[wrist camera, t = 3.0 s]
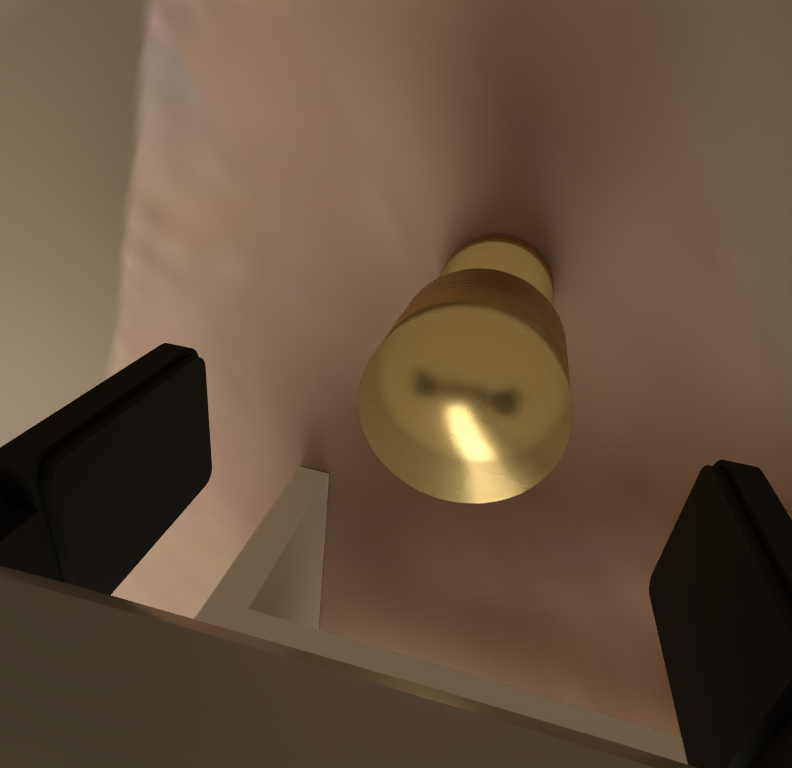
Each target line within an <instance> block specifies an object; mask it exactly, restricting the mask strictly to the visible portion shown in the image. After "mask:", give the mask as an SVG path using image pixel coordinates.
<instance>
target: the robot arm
mask: <svg viewBox="0 0 792 768" xmlns="http://www.w3.org/2000/svg"><path fill="white" fill-rule="evenodd" d="M211 471H212V461H211V446H210V430H209V415H208V399H207V384H206V369H205V362H204V360H203V359H202V358H200V357H198V354H197V352H196V351H195V350H194V349H192V348H187V347H183V346H178V345H173V344H168V343H164V344H162V345H160V346H158V347H157V348H155V349H154V350H152V351H150V352H149V353H147V354H146V355H144V356H143V357H141V358H139V359H138V360H136V361H135V362H133V363H132V364H130V365H129V366H127V367H125V368H124V369H122V370H121V371H119V372H118V373H116V374H114V375H113V376H111V377H110V378H108V379H107V380H105V381H104V382H102V383H100V384H99V385H97V386H96V387H94V388H93V389H91V390H90V391H88V392H87V393H85V394H83V395H82V396H80V397H79V398H77V399H76V400H74V401H72V402H71V403H69V404H68V405H66V406H65V407H63V408H62V409H60V410H59V411H57V412H55V413H54V414H52V415H50V416H49V417H48V418H46V419H44V420H43V421H41V422H40V423H38V424H37V425H35V426H33V427H32V428H30V429H29V430H27V431H26V432H24V433H22V434H21V435H20V436H18V437H16V438H15V439H13V440H12V441H10V442H8V443H7V444H5V445H4V446H2V447H1V448H0V768H792V520H791V518H790V516H789V515H788V513H787V512H786V510H785V508H784V507H783V505H782V503H781V502H780V500H779V498H778V497H777V495H776V493H775V492H774V490H773V489H772V487H771V485H770V484H769V482H768V480H767V479H766V477H765V475H764V474H763V472H762V471H761V470H760V469H759V468H758V467H755V466H750V465H745V464H740V463H735V462H731V461H726V460H719V461H717V462H716V463H715V464H714V466H709V465H706V466H704V467H703V468H702V470H701V471H700V473H699V475H698V477H697V480H696V482H695V484H694V486H693V488H692V490H691V492H690V495H689V497H688V499H687V501H686V503H685V505H684V507H683V509H682V512H681V514H680V516H679V518H678V520H677V522H676V524H675V526H674V529H673V531H672V533H671V535H670V537H669V539H668V541H667V544H666V546H665V548H664V550H663V552H662V554H661V556H660V558H659V561H658V563H657V565H656V567H655V569H654V571H653V573H652V576H651V580H650V586H649V594H650V599H651V604H652V608H653V613H654V617H655V621H656V626H657V630H658V635H659V639H660V644H661V648H662V652H663V657H664V661H665V666H666V670H667V674H668V679H669V683H670V688H671V692H672V697H673V701H674V705H675V710H676V714H677V719H678V723H679V727H680V732H681V736H682V741H683V745H684V750H685V754H686V758H687V763H688V765H687V764H684V763H681V762H678V761H674V760H671V759H668V758H665V757H662V756H658V755H655V754H652V753H649V752H646V751H642V750H639V749H636V748H633V747H630V746H626V745H623V744H620V743H616V742H613V741H610V740H606V739H603V738H600V737H596V736H593V735H589V734H586V733H583V732H579V731H576V730H572V729H569V728H566V727H562V726H559V725H556V724H552V723H549V722H545V721H542V720H539V719H535V718H532V717H529V716H525V715H522V714H518V713H515V712H512V711H508V710H505V709H502V708H498V707H495V706H491V705H488V704H485V703H481V702H478V701H475V700H471V699H468V698H464V697H461V696H458V695H454V694H451V693H447V692H444V691H441V690H437V689H434V688H430V687H427V686H424V685H420V684H417V683H413V682H410V681H406V680H403V679H400V678H396V677H393V676H389V675H386V674H382V673H379V672H375V671H372V670H369V669H365V668H362V667H358V666H355V665H351V664H348V663H345V662H341V661H338V660H334V659H331V658H327V657H324V656H320V655H317V654H313V653H310V652H307V651H303V650H300V649H296V648H293V647H289V646H286V645H282V644H279V643H275V642H272V641H268V640H265V639H262V638H258V637H255V636H251V635H248V634H244V633H241V632H237V631H234V630H230V629H227V628H223V627H220V626H216V625H213V624H209V623H206V622H202V621H199V620H195V619H192V618H188V617H185V616H181V615H177V614H174V613H170V612H167V611H163V610H160V609H156V608H153V607H149V606H146V605H142V604H139V603H135V602H132V601H128V600H125V599H121V598H118V597H114V596H111V594H112V593H113V591H114V590H115V589H116V588H117V587H118V586H119V585H120V583H121V582H122V581H123V580H124V579H125V578H126V577H127V575H128V574H129V573H130V572H131V571H132V570H133V568H134V567H135V566H136V565H137V564H138V563H139V562H140V560H141V559H142V558H143V557H144V556H145V555H146V554H147V552H148V551H149V550H150V549H151V548H152V547H153V545H154V544H155V543H156V542H157V541H158V540H159V539H160V537H161V536H162V535H163V534H164V533H165V532H166V531H167V529H168V528H169V527H170V526H171V525H172V524H173V522H174V521H175V520H176V519H177V518H178V517H179V516H180V514H181V513H182V512H183V511H184V510H185V509H186V508H187V506H188V505H189V504H190V503H191V502H192V501H193V499H194V498H195V497H196V496H197V495H198V494H199V493H200V491H201V490H202V489H203V488H204V487H205V486H206V484H207V483H208V481H209V479H210V476H211Z"/></svg>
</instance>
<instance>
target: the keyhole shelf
mask: <svg viewBox="0 0 792 768" xmlns="http://www.w3.org/2000/svg"><path fill="white" fill-rule="evenodd" d="M328 487H329V473H325V472H321V471H317V470H313V469H309V468H305V467H301V466H300V467H299V469H298V470H297V472H296V473H295V475H294V476H293V477H292V479H291V480H290V482H289V483H288V485H287V486H286V488H285V489H284V490H283V492H282V493H281V495H280V496H279V498H278V499H277V500H276V502H275V503H274V505H273V506H272V508H271V509H270V511H269V512H268V513H267V515H266V516H265V518H264V519H263V521H262V522H261V524H260V525H259V526H258V528H257V529H256V531H255V532H254V534H253V535H252V536H251V538H250V539H249V541H248V542H247V544H246V545H245V547H244V548H243V549H242V551H241V552H240V554H239V555H238V557H237V558H236V560H235V561H234V562H233V564H232V565H231V567H230V568H229V570H228V571H227V572H226V574H225V575H224V577H223V578H222V580H221V581H220V583H219V584H218V585H217V587H216V588H215V590H214V591H213V593H212V594H211V596H210V597H209V598H208V600H207V601H206V603H205V604H204V606H203V607H202V609H201V610H200V611H199V613H198V614H197V616H196V617H195V620H199V621H202V622H206V623H209V624H213V625H216V626H220V627H223V628H227V629H230V630H234V631H237V632H241V633H244V634H248V635H251V636H255V637H258V638H262V639H265V640H268V641H272V642H275V643H279V644H282V645H286V646H289V647H293V648H296V649H300V650H303V651H307V652H310V653H313V654H317V655H320V656H324V657H327V658H331V659H334V660H338V661H341V662H345V663H348V664H351V665H355V666H358V667H362V668H365V669H369V670H372V671H375V672H379V673H382V674H386V675H389V676H393V677H396V678H400V679H403V680H406V681H410V682H413V683H417V684H420V685H424V686H427V687H430V688H434V689H437V690H441V691H444V692H447V693H451V694H454V695H458V696H461V697H464V698H468V699H471V700H475V701H478V702H481V703H485V704H488V705H491V706H495V707H498V708H502V709H505V710H508V711H512V712H515V713H518V714H522V715H525V716H529V717H532V718H535V719H539V720H542V721H545V722H549V723H552V724H556V725H559V726H562V727H566V728H569V729H572V730H576V731H579V732H583V733H586V734H589V735H593V736H596V737H600V738H603V739H606V740H610V741H613V742H616V743H620V744H623V745H626V746H630V747H633V748H636V749H639V750H642V751H646V752H649V753H652V754H655V755H658V756H662V757H665V758H668V759H671V760H674V761H678V762H681V763H684V764H687V765H688V763H687V758H686V754H685V750H684V745H683V741H682V737H679V736H676V735H672V734H669V733H666V732H662V731H659V730H656V729H652V728H649V727H645V726H642V725H639V724H635V723H632V722H629V721H625V720H622V719H618V718H615V717H612V716H608V715H605V714H602V713H598V712H595V711H591V710H588V709H585V708H581V707H578V706H575V705H571V704H568V703H564V702H561V701H558V700H554V699H551V698H547V697H544V696H541V695H537V694H534V693H531V692H527V691H524V690H520V689H517V688H514V687H510V686H507V685H504V684H500V683H497V682H493V681H490V680H487V679H483V678H480V677H477V676H473V675H470V674H466V673H463V672H460V671H456V670H453V669H450V668H446V667H443V666H439V665H436V664H433V663H429V662H426V661H423V660H419V659H416V658H412V657H409V656H406V655H402V654H399V653H396V652H392V651H389V650H385V649H382V648H379V647H375V646H372V645H369V644H365V643H362V642H358V641H355V640H352V639H348V638H345V637H342V636H338V635H335V634H331V633H328V632H325V631H321V630H319V618H320V603H321V589H322V574H323V559H324V545H325V530H326V516H327V501H328Z"/></svg>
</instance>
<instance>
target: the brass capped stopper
mask: <svg viewBox="0 0 792 768" xmlns="http://www.w3.org/2000/svg"><path fill="white" fill-rule="evenodd" d="M358 409H359V417H360V421H361V425H362V429H363V431H364V434H365V436H366V439H367V441H368V443H369V444H370V446H371V448H372V450H373V451H374V453H375V454H376V455H377V457H378V458H379V459H380V461H381V462H382V463H383V464H384V465H385V466H386V467H387V468H388V469H389V470H390V471H391V472H392V473H393V474H394V475H395V476H397V477H398V478H399V479H401V480H402V481H403V482H405V483H406V484H408V485H409V486H411V487H413V488H415V489H417V490H419V491H420V492H423V493H425V494H428V495H430V496H433V497H436V498H439V499H443V500H447V501H452V502H458V503H488V502H496V501H500V500H504V499H508V498H511V497H513V496H516V495H519V494H521V493H523V492H525V491H527V490H528V489H530V488H532V487H533V486H535V485H536V484H538V483H539V482H540V481H542V480H543V479H544V478H545V477H546V476H547V475H548V474H549V473H550V472H551V471H552V470H553V469H554V467H555V466H556V465H557V464H558V462H559V461H560V459H561V457H562V456H563V454H564V452H565V450H566V447H567V445H568V442H569V439H570V435H571V430H572V420H573V411H572V400H571V390H570V379H569V368H568V357H567V347H566V337H565V333H564V328H563V325H562V323H561V320H560V318H559V316H558V314H557V312H556V310H555V309H554V307H553V284H552V277H551V273H550V270H549V267H548V265H547V263H546V261H545V260H544V258H543V257H542V255H541V254H540V253H539V252H538V251H537V250H536V249H535V248H534V247H533V246H531V245H530V244H528V243H527V242H525V241H523V240H521V239H519V238H516V237H513V236H508V235H500V234H498V235H487V236H483V237H479V238H476V239H474V240H472V241H470V242H468V243H467V244H465V245H464V246H462V247H461V248H460V249H459V250H458V251H457V252H456V253H455V254H454V255H453V256H452V258H451V259H450V261H449V262H448V264H447V265H446V267H445V268H444V270H443V272H442V273H441V275H440V277H439V278H438V279H436V280H434V281H433V282H431V283H429V284H428V285H427V286H426V287H424V288H423V289H422V290H421V291H420V292H419V293H418V294H417V295H416V296H415V297H414V298H413V299H412V301H411V302H410V304H409V305H408V306H407V308H406V309H405V311H404V312H403V313H402V315H401V316H400V318H399V319H398V320H397V322H396V323H395V325H394V326H393V327H392V329H391V330H390V332H389V333H388V334H387V336H386V337H385V339H384V340H383V341H382V343H381V344H380V346H379V347H378V348H377V350H376V351H375V353H374V354H373V355H372V357H371V358H370V360H369V362H368V364H367V366H366V368H365V370H364V372H363V375H362V379H361V382H360V387H359V393H358Z"/></svg>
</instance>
